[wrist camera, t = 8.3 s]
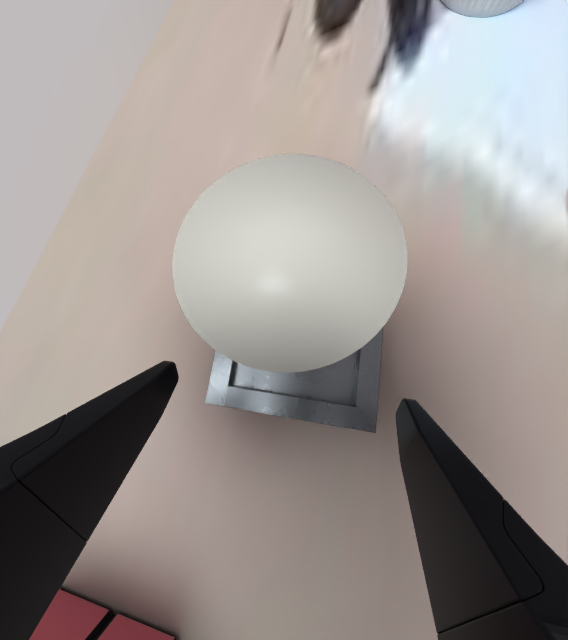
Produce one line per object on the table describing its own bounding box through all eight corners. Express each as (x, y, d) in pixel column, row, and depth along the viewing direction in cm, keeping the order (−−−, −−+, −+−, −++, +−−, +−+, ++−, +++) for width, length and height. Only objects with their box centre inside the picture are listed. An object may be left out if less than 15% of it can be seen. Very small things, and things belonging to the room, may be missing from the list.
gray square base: (363, 421, 18) (375, 432, 15) (221, 397, 19) (205, 403, 16) (374, 282, 20) (387, 265, 17) (246, 269, 22) (235, 251, 18)
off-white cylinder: (349, 335, 17) (460, 247, 5) (299, 387, 17) (284, 430, 4) (298, 288, 18) (286, 118, 6) (249, 335, 18) (128, 257, 6)
